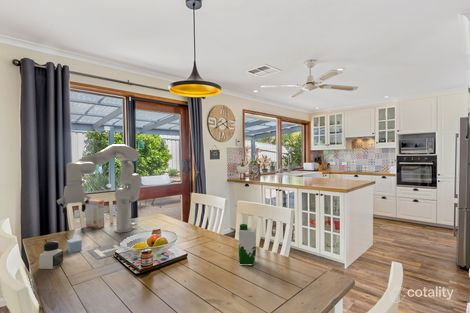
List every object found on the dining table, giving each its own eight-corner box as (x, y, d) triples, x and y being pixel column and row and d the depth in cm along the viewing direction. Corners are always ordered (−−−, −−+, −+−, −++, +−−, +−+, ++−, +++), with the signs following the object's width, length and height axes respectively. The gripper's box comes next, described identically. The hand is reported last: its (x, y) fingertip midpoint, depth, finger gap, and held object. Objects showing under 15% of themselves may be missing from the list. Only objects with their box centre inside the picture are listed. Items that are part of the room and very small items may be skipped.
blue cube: (78, 247, 152) (78, 237, 152) (81, 250, 148) (81, 240, 148) (67, 250, 148) (67, 240, 148) (69, 253, 144) (69, 242, 143)
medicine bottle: (53, 269, 123) (53, 245, 123) (38, 269, 124) (38, 244, 123) (63, 263, 130) (63, 240, 130) (50, 262, 131) (49, 239, 130)
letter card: (119, 243, 160) (119, 242, 160) (130, 250, 148) (130, 250, 148) (87, 251, 147) (87, 250, 147) (97, 259, 135) (97, 259, 135)
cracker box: (104, 227, 194) (104, 200, 194) (97, 229, 188) (97, 201, 188) (92, 224, 200) (92, 198, 200) (85, 226, 194) (85, 199, 194)
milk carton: (240, 258, 137) (240, 222, 137) (256, 260, 136) (257, 223, 135) (237, 265, 129) (237, 227, 129) (254, 267, 127) (255, 228, 127)
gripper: (88, 181, 156) (88, 209, 156) (55, 184, 144) (55, 214, 144) (92, 182, 151) (92, 211, 151) (58, 185, 138) (58, 216, 139)
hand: (74, 212), depth 147 cm, fingers open, 8 cm apart
